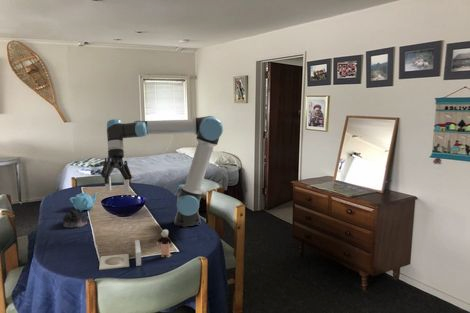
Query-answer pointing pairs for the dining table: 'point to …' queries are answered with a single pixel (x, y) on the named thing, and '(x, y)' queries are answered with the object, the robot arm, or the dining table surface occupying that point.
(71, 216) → the crystal cluster
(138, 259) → the low wall
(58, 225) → the dining table surface
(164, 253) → the grandmother figurine
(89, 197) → the teapot
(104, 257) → the resting pad
